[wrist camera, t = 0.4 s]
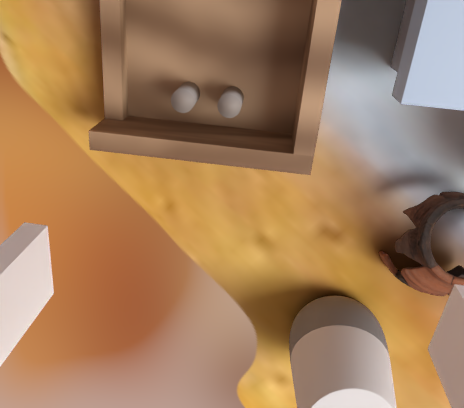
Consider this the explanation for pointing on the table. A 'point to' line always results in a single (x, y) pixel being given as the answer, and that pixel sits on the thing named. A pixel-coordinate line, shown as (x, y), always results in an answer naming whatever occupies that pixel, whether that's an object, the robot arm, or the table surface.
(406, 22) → the stand
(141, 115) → the wooden tray
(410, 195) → the table surface
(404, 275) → the pottery mug
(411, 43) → the shelf board
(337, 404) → the smart speaker
